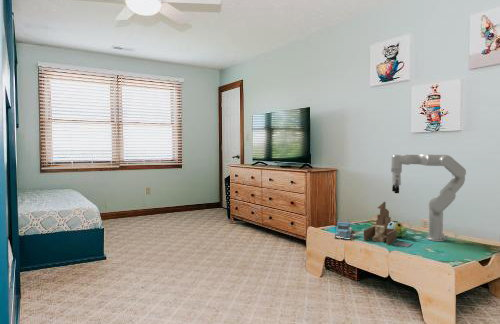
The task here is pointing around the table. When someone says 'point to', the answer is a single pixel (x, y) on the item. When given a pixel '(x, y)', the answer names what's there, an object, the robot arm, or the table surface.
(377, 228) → the maple block
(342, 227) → the truck
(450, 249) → the table surface
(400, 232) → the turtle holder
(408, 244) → the mat
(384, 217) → the wooden toy
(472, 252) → the table surface
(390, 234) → the slot stand
